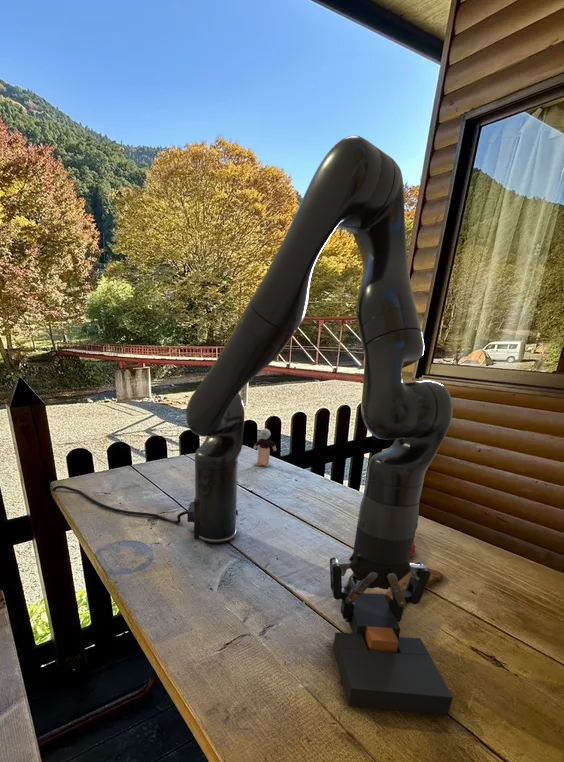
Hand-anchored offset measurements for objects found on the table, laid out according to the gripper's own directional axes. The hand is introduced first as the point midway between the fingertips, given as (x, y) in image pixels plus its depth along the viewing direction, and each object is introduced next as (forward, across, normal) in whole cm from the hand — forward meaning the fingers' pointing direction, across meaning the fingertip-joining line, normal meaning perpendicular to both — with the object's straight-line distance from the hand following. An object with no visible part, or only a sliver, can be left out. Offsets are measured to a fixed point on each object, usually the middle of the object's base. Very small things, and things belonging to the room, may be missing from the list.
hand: (369, 620), depth 64 cm
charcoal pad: (+1, 0, +1) cm, 2 cm away
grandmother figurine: (+2, +13, -78) cm, 79 cm away
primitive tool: (+2, -10, -12) cm, 16 cm away
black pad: (+2, 0, +9) cm, 9 cm away
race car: (+2, -14, -29) cm, 32 cm away
